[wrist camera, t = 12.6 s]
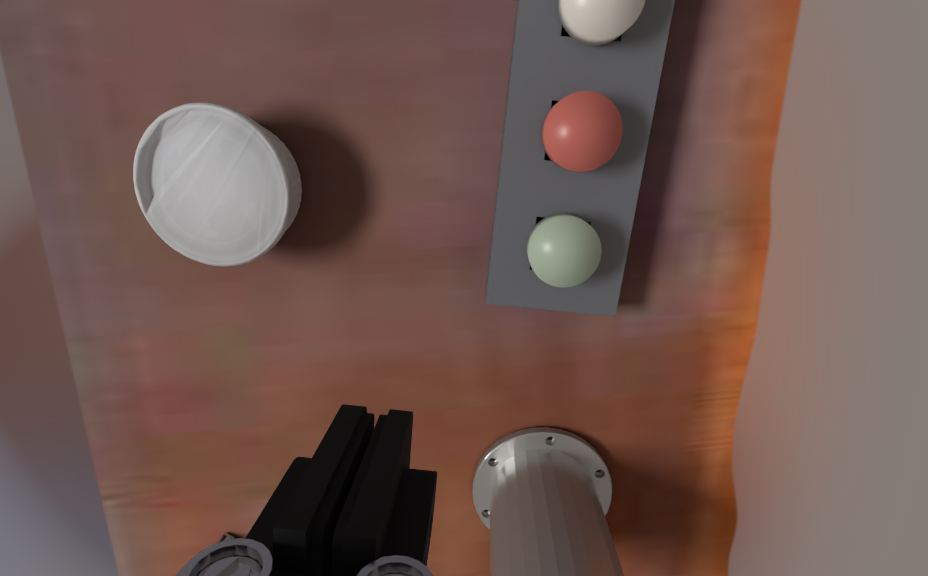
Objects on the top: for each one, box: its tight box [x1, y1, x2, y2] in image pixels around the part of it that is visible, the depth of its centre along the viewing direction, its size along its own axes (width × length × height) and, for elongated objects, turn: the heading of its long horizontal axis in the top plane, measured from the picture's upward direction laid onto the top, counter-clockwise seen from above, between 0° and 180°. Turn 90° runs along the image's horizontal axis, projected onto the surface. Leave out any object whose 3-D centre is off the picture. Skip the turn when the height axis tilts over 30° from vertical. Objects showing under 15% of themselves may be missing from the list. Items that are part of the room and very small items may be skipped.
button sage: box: [526, 213, 602, 288], centre depth 36 cm, size 5×5×5 cm
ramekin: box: [133, 103, 302, 266], centre depth 37 cm, size 11×11×5 cm
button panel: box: [486, 0, 675, 317], centre depth 36 cm, size 26×10×3 cm, turn 175°
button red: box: [541, 91, 623, 172], centre depth 34 cm, size 5×5×5 cm
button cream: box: [558, 0, 645, 46], centre depth 32 cm, size 5×5×5 cm
